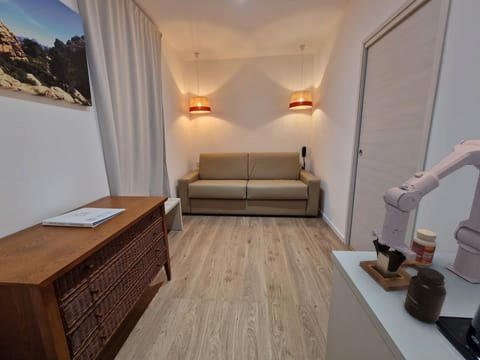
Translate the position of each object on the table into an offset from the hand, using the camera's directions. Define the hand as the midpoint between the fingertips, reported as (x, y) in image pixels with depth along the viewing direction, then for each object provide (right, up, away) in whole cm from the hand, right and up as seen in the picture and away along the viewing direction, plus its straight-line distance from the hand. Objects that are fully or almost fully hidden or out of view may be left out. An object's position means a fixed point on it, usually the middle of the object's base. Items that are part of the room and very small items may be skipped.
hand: (386, 266), depth 67 cm
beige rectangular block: (0, -3, +1) cm, 3 cm away
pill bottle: (+18, -2, +9) cm, 20 cm away
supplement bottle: (0, -7, -12) cm, 14 cm away
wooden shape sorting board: (+5, -3, +1) cm, 6 cm away
